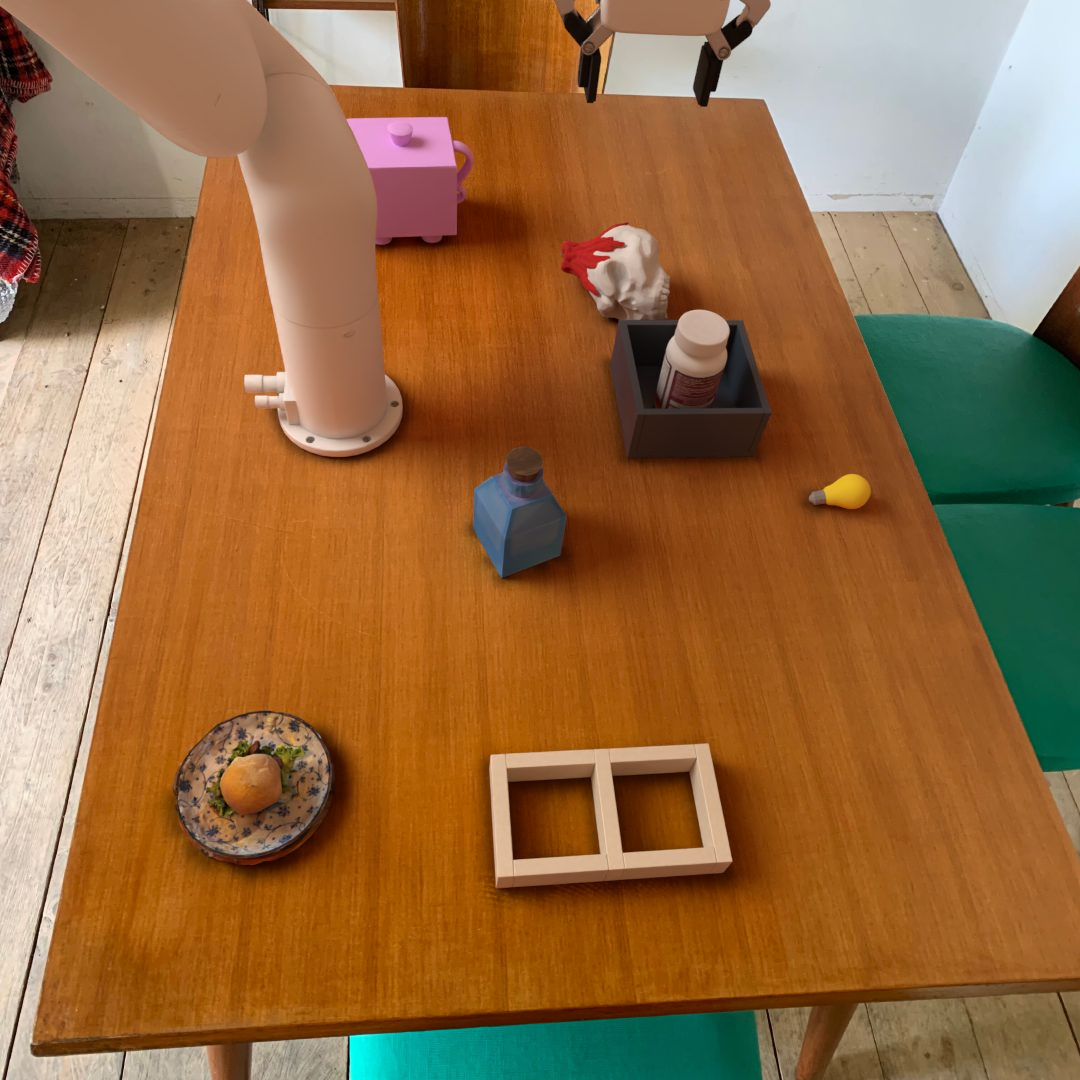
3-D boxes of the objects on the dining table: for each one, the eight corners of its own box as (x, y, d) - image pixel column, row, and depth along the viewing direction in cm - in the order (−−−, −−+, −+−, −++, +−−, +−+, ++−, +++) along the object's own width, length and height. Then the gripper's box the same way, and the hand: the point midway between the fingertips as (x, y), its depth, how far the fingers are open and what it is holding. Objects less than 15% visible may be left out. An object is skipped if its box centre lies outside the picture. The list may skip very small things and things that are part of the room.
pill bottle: (720, 415, 98) (748, 335, 89) (676, 436, 96) (700, 356, 87) (685, 379, 101) (709, 298, 92) (641, 399, 99) (660, 317, 90)
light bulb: (870, 509, 93) (877, 498, 90) (811, 520, 94) (815, 509, 91) (862, 478, 94) (868, 466, 91) (803, 489, 95) (807, 477, 92)
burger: (336, 713, 76) (326, 672, 70) (335, 858, 69) (323, 826, 63) (185, 725, 74) (161, 684, 68) (169, 874, 68) (141, 843, 62)
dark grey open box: (627, 458, 95) (637, 414, 89) (610, 365, 102) (618, 319, 97) (754, 456, 96) (772, 413, 91) (728, 364, 104) (743, 319, 99)
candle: (661, 345, 104) (539, 316, 108) (690, 286, 110) (573, 261, 114) (667, 278, 97) (536, 251, 101) (697, 220, 103) (573, 196, 107)
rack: (496, 888, 69) (497, 877, 66) (489, 768, 74) (490, 754, 72) (723, 873, 71) (732, 861, 68) (700, 757, 76) (708, 743, 74)
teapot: (467, 195, 118) (469, 101, 108) (477, 244, 113) (479, 150, 103) (309, 200, 115) (295, 103, 105) (310, 251, 110) (296, 154, 99)
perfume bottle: (501, 578, 85) (508, 498, 75) (473, 528, 88) (475, 446, 78) (560, 555, 87) (573, 475, 77) (530, 508, 90) (540, 424, 80)
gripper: (792, -153, 68) (733, 77, 81) (559, -168, 66) (540, 70, 79) (818, -111, 63) (751, 124, 77) (570, -126, 61) (548, 118, 75)
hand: (644, 96), depth 78 cm, fingers open, 9 cm apart
